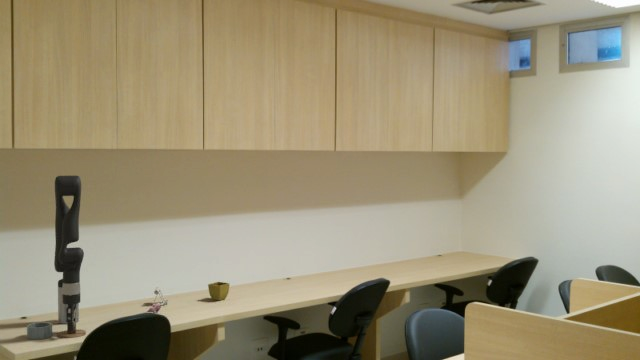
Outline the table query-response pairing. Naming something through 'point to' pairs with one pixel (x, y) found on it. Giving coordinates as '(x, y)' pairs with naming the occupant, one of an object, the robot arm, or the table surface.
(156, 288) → the portable electronic device stand
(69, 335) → the lid
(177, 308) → the table surface
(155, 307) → the video game controller
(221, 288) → the flower pot
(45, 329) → the bowl
